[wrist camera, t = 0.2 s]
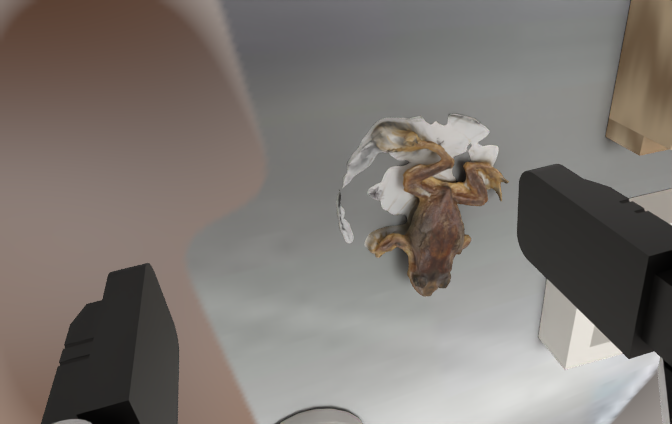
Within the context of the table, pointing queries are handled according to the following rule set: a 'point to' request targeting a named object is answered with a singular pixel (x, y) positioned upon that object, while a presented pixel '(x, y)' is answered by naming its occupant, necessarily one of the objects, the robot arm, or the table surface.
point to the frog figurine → (425, 191)
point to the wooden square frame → (644, 80)
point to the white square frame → (571, 325)
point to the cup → (323, 417)
